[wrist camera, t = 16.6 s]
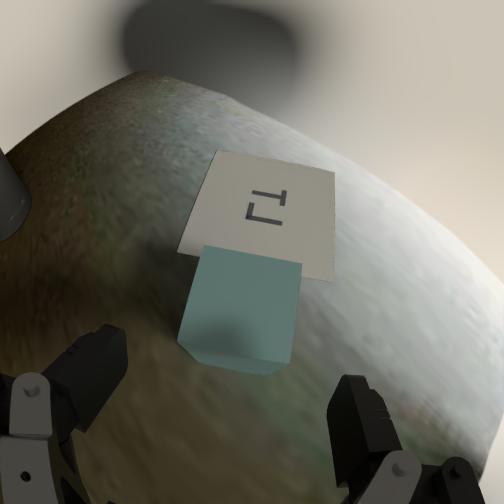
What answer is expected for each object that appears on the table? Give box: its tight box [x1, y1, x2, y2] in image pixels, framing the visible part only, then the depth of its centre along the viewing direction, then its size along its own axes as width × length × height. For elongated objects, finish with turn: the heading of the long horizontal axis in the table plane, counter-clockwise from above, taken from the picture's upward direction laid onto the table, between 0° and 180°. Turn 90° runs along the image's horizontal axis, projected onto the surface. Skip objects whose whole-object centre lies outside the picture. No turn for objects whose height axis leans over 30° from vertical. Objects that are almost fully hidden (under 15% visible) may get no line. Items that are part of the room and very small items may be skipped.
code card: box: [177, 151, 335, 282], centre depth 31 cm, size 16×16×1 cm
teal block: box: [177, 245, 302, 376], centre depth 19 cm, size 6×6×10 cm
